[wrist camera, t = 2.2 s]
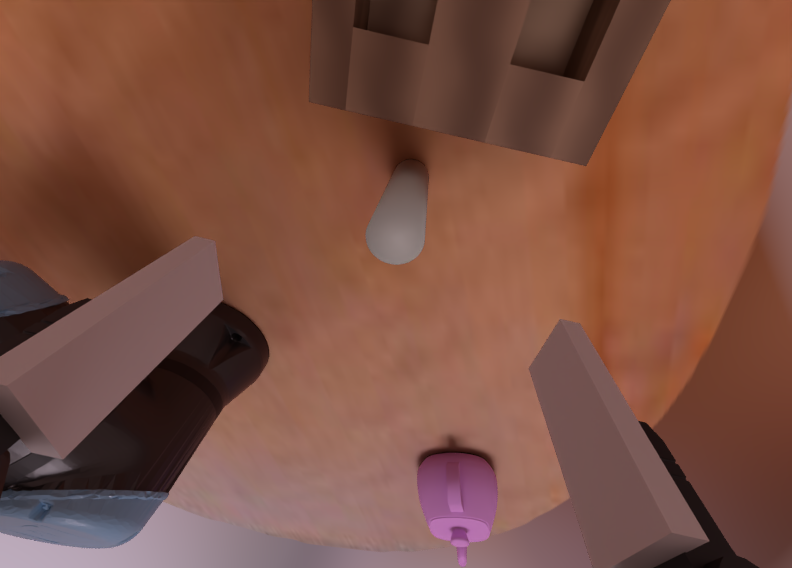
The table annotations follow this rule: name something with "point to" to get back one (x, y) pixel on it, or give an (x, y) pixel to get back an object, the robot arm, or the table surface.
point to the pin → (400, 215)
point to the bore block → (484, 66)
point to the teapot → (458, 498)
